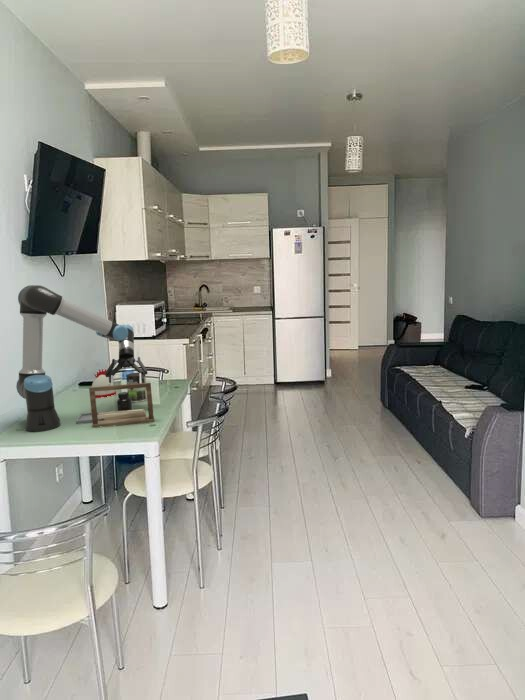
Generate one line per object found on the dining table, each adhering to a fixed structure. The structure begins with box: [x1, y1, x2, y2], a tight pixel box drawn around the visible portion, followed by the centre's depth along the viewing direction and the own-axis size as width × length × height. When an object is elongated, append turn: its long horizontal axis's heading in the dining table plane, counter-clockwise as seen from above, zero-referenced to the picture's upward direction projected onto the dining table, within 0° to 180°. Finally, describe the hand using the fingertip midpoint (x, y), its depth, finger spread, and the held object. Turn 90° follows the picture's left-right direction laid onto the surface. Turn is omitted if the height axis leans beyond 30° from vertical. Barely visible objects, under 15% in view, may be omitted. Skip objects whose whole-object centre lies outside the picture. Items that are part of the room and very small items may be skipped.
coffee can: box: [125, 372, 147, 403], centre depth 293 cm, size 10×10×14 cm
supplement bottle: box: [116, 391, 133, 411], centre depth 257 cm, size 7×7×12 cm
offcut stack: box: [97, 408, 147, 424], centre depth 248 cm, size 5×21×4 cm, turn 98°
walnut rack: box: [88, 382, 155, 428], centre depth 248 cm, size 6×27×18 cm, turn 99°
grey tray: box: [75, 410, 110, 425], centre depth 259 cm, size 13×13×2 cm
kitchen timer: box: [91, 368, 117, 399], centre depth 310 cm, size 14×14×15 cm
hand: (126, 386), depth 265 cm, fingers open, 13 cm apart
